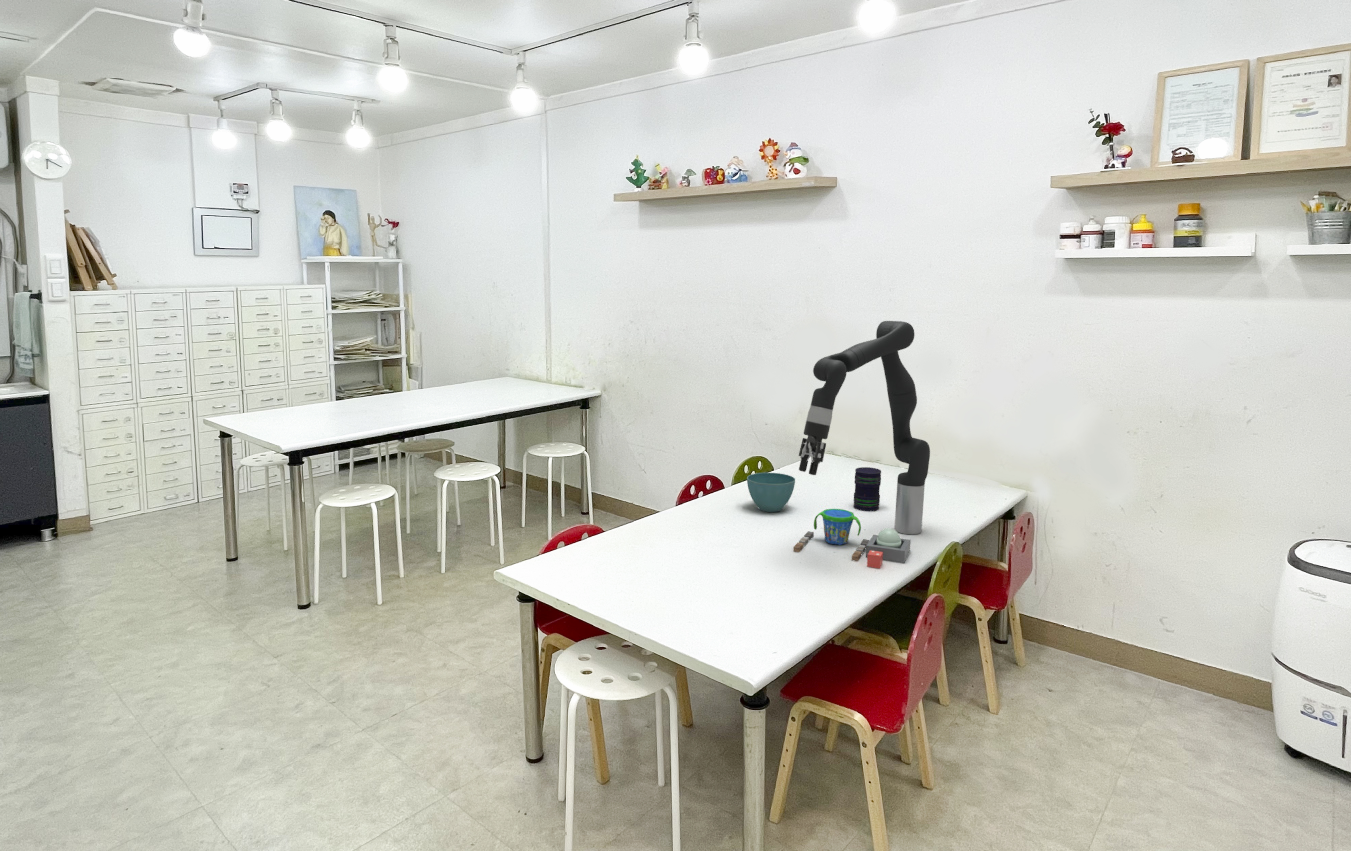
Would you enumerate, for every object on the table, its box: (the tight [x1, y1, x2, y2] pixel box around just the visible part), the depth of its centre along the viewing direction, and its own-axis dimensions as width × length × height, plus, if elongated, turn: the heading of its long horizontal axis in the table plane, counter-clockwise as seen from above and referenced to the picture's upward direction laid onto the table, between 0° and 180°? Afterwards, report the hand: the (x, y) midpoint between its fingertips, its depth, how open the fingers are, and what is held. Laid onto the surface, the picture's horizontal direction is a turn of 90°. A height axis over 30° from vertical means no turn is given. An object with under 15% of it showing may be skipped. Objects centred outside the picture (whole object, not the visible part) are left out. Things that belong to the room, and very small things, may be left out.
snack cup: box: [813, 508, 862, 546], centre depth 273 cm, size 16×10×10 cm
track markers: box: [792, 530, 870, 562], centre depth 268 cm, size 18×21×2 cm
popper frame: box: [865, 534, 912, 564], centre depth 262 cm, size 12×12×4 cm
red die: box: [866, 550, 884, 569], centre depth 252 cm, size 4×4×4 cm
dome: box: [876, 527, 902, 548], centre depth 261 cm, size 8×8×7 cm
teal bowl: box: [746, 472, 796, 513], centre depth 310 cm, size 18×18×12 cm
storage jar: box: [853, 466, 882, 512], centre depth 313 cm, size 10×10×15 cm
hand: (807, 472), depth 254 cm, fingers open, 8 cm apart
